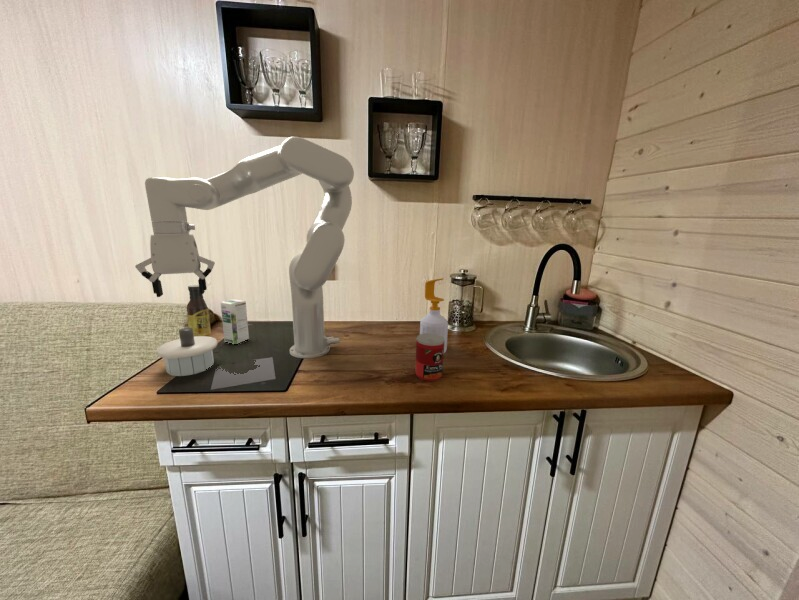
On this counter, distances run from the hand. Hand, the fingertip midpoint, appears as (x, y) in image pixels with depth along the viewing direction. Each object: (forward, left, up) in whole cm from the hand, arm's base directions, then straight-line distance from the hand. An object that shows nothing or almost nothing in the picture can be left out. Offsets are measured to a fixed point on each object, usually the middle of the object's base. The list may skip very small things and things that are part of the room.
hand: (181, 294), depth 85 cm
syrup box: (-11, -18, -22) cm, 30 cm away
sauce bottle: (0, -21, -22) cm, 30 cm away
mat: (-14, +9, -21) cm, 27 cm away
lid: (0, 0, -15) cm, 15 cm away
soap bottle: (-71, +14, -22) cm, 75 cm away
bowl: (0, 0, -21) cm, 21 cm away
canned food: (-61, +29, -22) cm, 71 cm away
